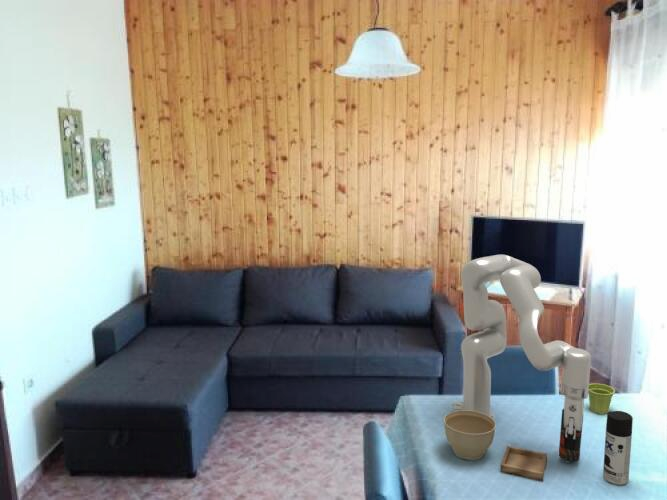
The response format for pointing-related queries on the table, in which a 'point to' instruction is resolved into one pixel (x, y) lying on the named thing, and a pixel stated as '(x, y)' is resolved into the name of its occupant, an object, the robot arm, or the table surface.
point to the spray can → (617, 447)
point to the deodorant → (565, 453)
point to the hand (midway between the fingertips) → (570, 443)
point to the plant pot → (600, 397)
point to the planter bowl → (469, 433)
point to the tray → (524, 463)
